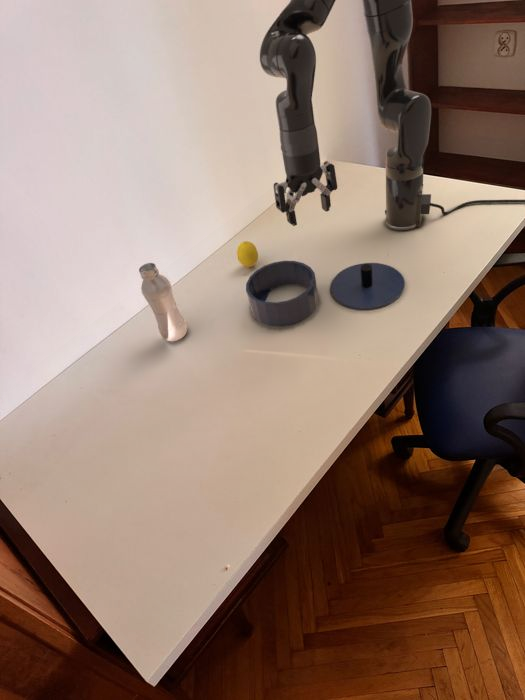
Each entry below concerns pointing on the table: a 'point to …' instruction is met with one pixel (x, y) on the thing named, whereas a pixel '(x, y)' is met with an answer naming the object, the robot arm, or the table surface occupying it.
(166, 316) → the plastic bottle
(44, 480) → the table surface
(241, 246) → the lemon
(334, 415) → the table surface
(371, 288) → the pot lid
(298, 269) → the pot
